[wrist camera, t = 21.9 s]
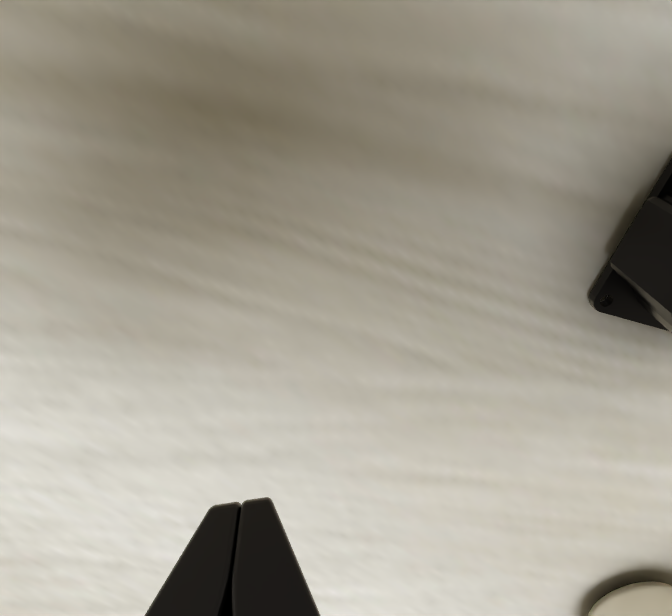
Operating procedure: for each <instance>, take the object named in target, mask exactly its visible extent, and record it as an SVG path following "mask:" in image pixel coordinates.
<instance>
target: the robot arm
mask: <svg viewBox="0 0 672 616" xmlns="http://www.w3.org/2000/svg"><path fill="white" fill-rule="evenodd" d="M606 295H608V296H607V298H606V299H605V300H604V301H601V302H600V300H601V299H602V298H603V297H604V296H606ZM589 302H590V304H591V305H592V306H593V307H594V308H595V309H596V310H597V311H599V312H602V313H606V314H609V315H613V316H617V317H620V318H624V319H628V320H631V321H635V322H638V323H642V324H646V325H649V326H653V327H657V328H660V329H664V330H668V331H670V332H671V333H672V159H671V160H670V162H669V164H668V165H667V167H666V169H665V170H664V172H663V174H662V175H661V177H660V179H659V180H658V182H657V184H656V185H655V187H654V188H653V190H652V192H651V193H650V195H649V197H648V198H647V200H646V202H645V203H644V205H643V206H642V208H641V210H640V211H639V213H638V214H637V216H636V218H635V219H634V221H633V223H632V224H631V226H630V228H629V229H628V231H627V233H626V234H625V236H624V238H623V239H622V241H621V243H620V244H619V246H618V248H617V249H616V251H615V253H614V254H613V256H612V258H611V259H610V261H609V263H608V265H607V266H606V268H605V270H604V271H603V273H602V275H601V276H600V278H599V279H598V281H597V283H596V284H595V286H594V288H593V289H592V291H591V293H590V295H589ZM145 616H320V614H319V611H318V609H317V607H316V604H315V602H314V599H313V597H312V595H311V592H310V590H309V588H308V585H307V583H306V580H305V578H304V576H303V573H302V571H301V568H300V566H299V564H298V561H297V559H296V556H295V554H294V552H293V549H292V547H291V545H290V542H289V540H288V537H287V535H286V533H285V530H284V528H283V525H282V523H281V521H280V518H279V516H278V514H277V511H276V509H275V506H274V504H273V502H272V500H271V499H270V498H268V497H265V498H258V499H252V500H246V501H244V502H243V503H242V505H241V504H240V503H239V502H232V503H226V504H219V505H215V506H213V507H211V508H210V509H209V510H208V512H207V514H206V515H205V517H204V519H203V520H202V522H201V524H200V525H199V527H198V528H197V530H196V532H195V533H194V535H193V537H192V538H191V540H190V542H189V543H188V545H187V547H186V548H185V550H184V552H183V553H182V555H181V556H180V558H179V560H178V561H177V563H176V565H175V566H174V568H173V570H172V571H171V573H170V575H169V576H168V578H167V580H166V581H165V583H164V584H163V586H162V588H161V589H160V591H159V593H158V594H157V596H156V598H155V599H154V601H153V603H152V604H151V606H150V608H149V609H148V611H147V613H146V614H145Z"/></svg>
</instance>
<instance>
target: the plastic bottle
mask: <svg viewBox="0 0 672 616" xmlns="http://www.w3.org/2000/svg"><path fill="white" fill-rule="evenodd" d="M588 616H672V586H671V585H669V584H666V583H662V582H652V581H649V582H639V583H634V584H630V585H627V586H623V587H621V588H618V589H616V590H614V591H612V592H610V593H608V594H607V595H605V596H604V597H602V598H601V599H600V600H598V601H597V602H596V603H595V604H594V605H593V607H592V608H591V610H590V611H589V614H588Z"/></svg>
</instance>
